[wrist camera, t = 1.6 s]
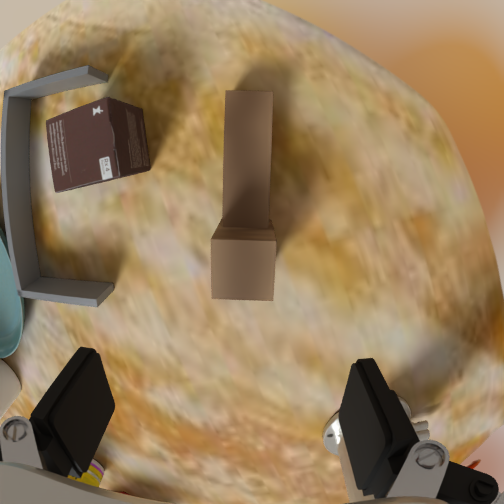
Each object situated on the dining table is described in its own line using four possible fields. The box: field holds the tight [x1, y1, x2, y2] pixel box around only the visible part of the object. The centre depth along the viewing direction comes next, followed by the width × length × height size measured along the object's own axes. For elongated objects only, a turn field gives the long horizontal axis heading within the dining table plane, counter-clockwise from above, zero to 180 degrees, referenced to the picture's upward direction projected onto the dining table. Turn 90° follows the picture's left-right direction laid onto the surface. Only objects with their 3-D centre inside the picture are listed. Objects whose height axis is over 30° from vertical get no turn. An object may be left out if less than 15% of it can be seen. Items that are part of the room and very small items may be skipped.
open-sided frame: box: [1, 65, 114, 307], centre depth 25 cm, size 11×22×4 cm, turn 178°
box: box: [46, 97, 151, 193], centre depth 22 cm, size 6×6×7 cm
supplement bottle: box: [67, 459, 104, 487], centre depth 34 cm, size 7×7×13 cm
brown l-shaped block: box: [211, 91, 277, 301], centre depth 23 cm, size 4×15×7 cm, turn 178°
